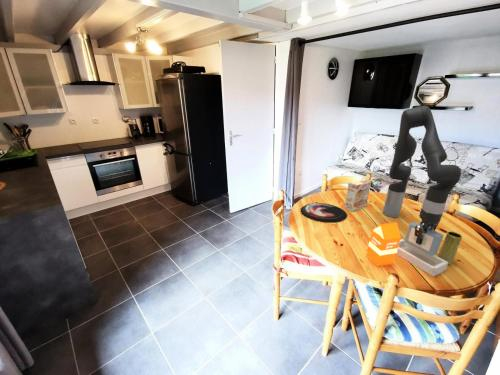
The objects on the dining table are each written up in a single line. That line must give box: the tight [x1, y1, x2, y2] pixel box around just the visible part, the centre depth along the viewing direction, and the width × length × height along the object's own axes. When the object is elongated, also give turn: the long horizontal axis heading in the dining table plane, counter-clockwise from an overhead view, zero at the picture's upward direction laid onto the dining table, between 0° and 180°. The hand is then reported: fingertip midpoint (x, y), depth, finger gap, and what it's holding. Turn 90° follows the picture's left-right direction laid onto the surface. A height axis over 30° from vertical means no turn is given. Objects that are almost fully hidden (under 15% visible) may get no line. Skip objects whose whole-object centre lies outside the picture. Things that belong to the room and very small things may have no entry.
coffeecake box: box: [343, 178, 372, 213], centre depth 157 cm, size 15×7×20 cm, turn 120°
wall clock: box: [300, 202, 348, 223], centre depth 154 cm, size 27×5×30 cm
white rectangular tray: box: [396, 238, 449, 277], centre depth 109 cm, size 9×20×4 cm, turn 25°
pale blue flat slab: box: [404, 221, 444, 256], centre depth 105 cm, size 4×12×10 cm, turn 25°
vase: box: [437, 231, 463, 265], centre depth 107 cm, size 6×6×14 cm
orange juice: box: [365, 221, 402, 267], centre depth 106 cm, size 8×9×20 cm
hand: (421, 242), depth 106 cm, fingers closed on pale blue flat slab, 4 cm apart
